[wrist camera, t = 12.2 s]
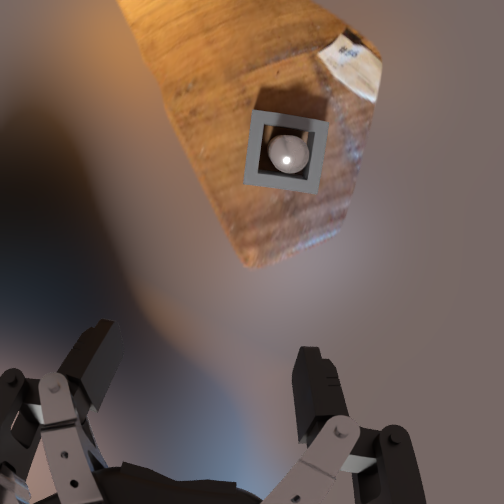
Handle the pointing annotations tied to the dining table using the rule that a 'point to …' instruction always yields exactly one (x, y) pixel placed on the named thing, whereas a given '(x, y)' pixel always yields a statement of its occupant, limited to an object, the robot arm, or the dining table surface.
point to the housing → (279, 179)
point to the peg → (288, 153)
